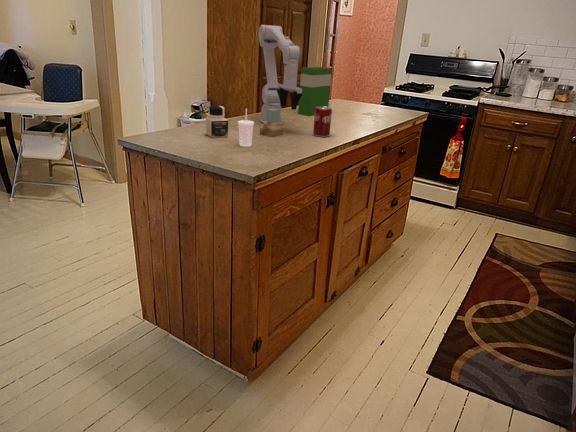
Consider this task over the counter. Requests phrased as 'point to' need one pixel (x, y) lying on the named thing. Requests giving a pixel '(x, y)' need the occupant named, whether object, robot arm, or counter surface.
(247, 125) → the beverage cup
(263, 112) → the robot arm
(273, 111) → the teal block
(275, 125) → the maple cube
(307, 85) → the hardback book
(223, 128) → the medicine bottle
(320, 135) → the soda can
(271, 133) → the walnut slab
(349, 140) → the counter surface
